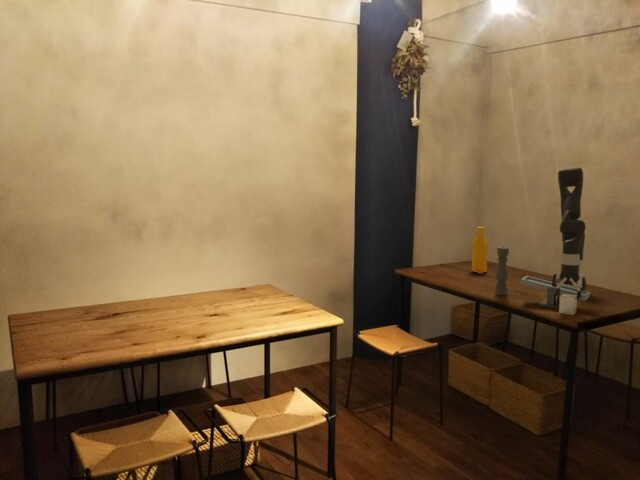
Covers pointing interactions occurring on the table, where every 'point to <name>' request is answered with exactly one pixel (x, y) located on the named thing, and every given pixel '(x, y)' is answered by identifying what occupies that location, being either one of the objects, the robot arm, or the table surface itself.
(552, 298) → the pivot stand
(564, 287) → the beam
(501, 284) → the candle holder
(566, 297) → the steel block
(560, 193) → the robot arm
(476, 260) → the beer bottle
